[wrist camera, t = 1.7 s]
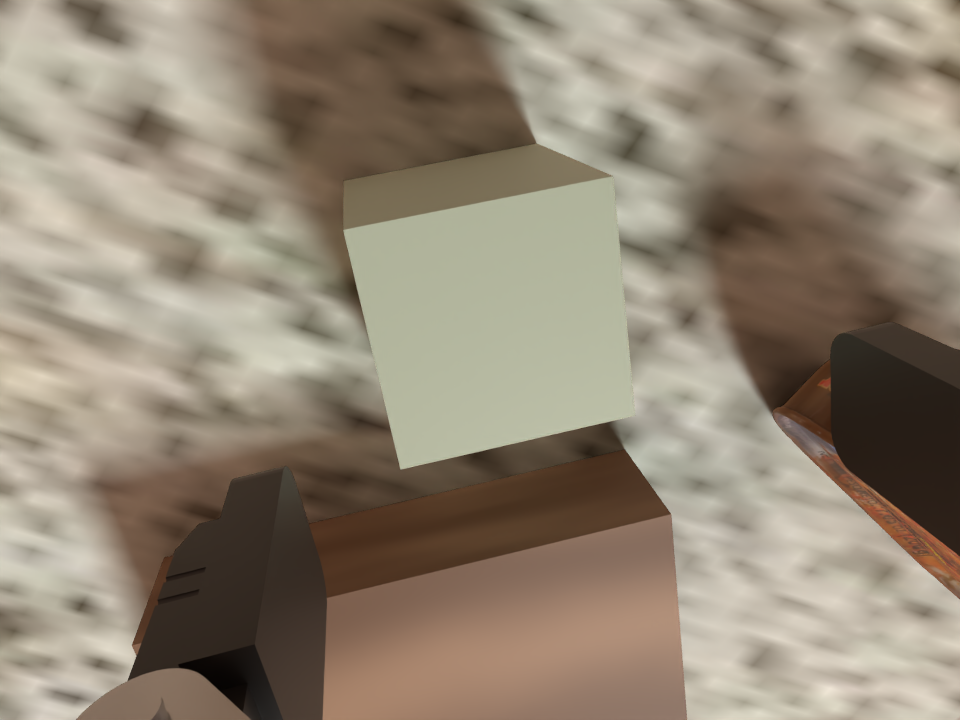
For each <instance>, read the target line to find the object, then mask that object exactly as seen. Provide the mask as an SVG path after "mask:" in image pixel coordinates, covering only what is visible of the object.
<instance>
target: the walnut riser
mask: <svg viewBox="0 0 960 720" xmlns="http://www.w3.org/2000/svg"><path fill="white" fill-rule="evenodd" d="M309 527H310V530H311V533H312V536H313V539H314V542H315V545H316V549H317V552H318V555H319V558H320V562H321V565H322V570H323V574H324V580H325V586H326V595H327V618H326V644H325V670H324V696H323V720H687V713H686V700H685V687H684V674H683V661H682V648H681V635H680V622H679V609H678V596H677V583H676V570H675V557H674V544H673V531H672V518H671V513H670V512H669V511H668V509H667V508H666V506H665V505H664V504H663V502H662V501H661V499H660V498H659V497H658V495H657V494H656V492H655V491H654V490H653V488H652V487H651V485H650V484H649V483H648V481H647V480H646V478H645V477H644V476H643V474H642V473H641V471H640V470H639V469H638V467H637V466H636V464H635V463H634V462H633V460H632V459H631V457H630V456H629V455H628V453H627V452H626V450H621V451H617V452H612V453H608V454H604V455H600V456H595V457H591V458H587V459H583V460H578V461H574V462H570V463H566V464H561V465H557V466H553V467H548V468H544V469H540V470H536V471H531V472H527V473H523V474H519V475H514V476H510V477H506V478H502V479H497V480H493V481H489V482H485V483H480V484H476V485H472V486H468V487H463V488H459V489H455V490H450V491H446V492H442V493H438V494H433V495H429V496H425V497H421V498H416V499H412V500H408V501H404V502H399V503H395V504H391V505H387V506H382V507H378V508H374V509H370V510H365V511H361V512H357V513H352V514H348V515H344V516H340V517H335V518H331V519H327V520H323V521H318V522H314V523H310V524H309ZM172 558H173V556H169V557H165V558H164V560H163V562H162V565H161V568H160V570H159V573H158V576H157V579H156V581H155V584H154V587H153V589H152V592H151V595H150V598H149V600H148V603H147V606H146V609H145V611H144V614H143V617H142V619H141V622H140V625H139V628H138V630H137V633H136V636H135V638H134V641H133V644H132V647H133V649H134V651H135V653H136V656H137V654H138V651H139V648H140V646H141V643H142V640H143V637H144V635H145V632H146V629H147V626H148V624H149V621H150V618H151V616H152V613H153V610H154V607H155V606H156V605H158V601H157V599H158V596H159V594H160V591H161V588H162V586H163V583H164V582H166V575H167V572H168V569H169V566H170V564H171V561H172Z"/></svg>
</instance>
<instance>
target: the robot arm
mask: <svg viewBox="0 0 960 720" xmlns="http://www.w3.org/2000/svg"><path fill="white" fill-rule="evenodd" d="M830 369H831V435H832V440H833V444H834V447H835V450H836V452H837V454H838V456H839V458H840V460H841V461H842V463H843V464H844V465H845V467H846V468H847V469H848V470H849V471H850V472H852V473H853V474H854V475H855V476H857V477H858V478H859V479H861V480H862V481H863V482H864V483H866V484H867V485H868V486H870V487H871V488H872V489H873V490H875V491H876V492H877V493H879V494H880V495H881V496H882V497H884V498H885V499H886V500H888V501H889V502H890V503H891V504H893V505H894V506H895V507H897V508H898V509H899V510H900V511H902V512H903V513H904V514H906V515H907V516H908V517H909V518H911V519H912V520H913V521H915V522H916V523H917V524H919V525H920V526H921V527H922V528H924V529H925V530H926V531H928V532H929V533H930V534H931V535H933V536H934V537H935V538H937V539H938V540H939V541H940V542H942V543H943V544H944V545H946V546H947V547H948V548H949V549H951V550H952V551H953V552H955V553H956V554H957V555H958V556H960V350H957V349H954V348H951V347H949V346H947V345H944V344H942V343H940V342H938V341H935V340H933V339H931V338H929V337H926V336H924V335H922V334H920V333H917V332H915V331H913V330H910V329H908V328H906V327H904V326H901V325H899V324H897V323H893V322H888V323H883V324H879V325H875V326H871V327H867V328H863V329H858V330H854V331H850V332H846V333H842V334H839V335H838V336H837V337H836V338H835V339H834V341H833V343H832V346H831V354H830ZM157 601H158V605H156V606H155V607H154V610H153V613H152V616H151V618H150V621H149V624H148V626H147V629H146V632H145V635H144V637H143V640H142V643H141V646H140V648H139V651H138V654H137V657H136V659H135V662H134V665H133V667H132V670H131V673H130V676H129V678H128V681H127V682H125V683H123V684H121V685H119V686H117V687H116V688H114V689H112V690H111V691H109V692H108V693H106V694H105V695H103V696H102V697H101V698H99V699H98V700H97V701H95V702H94V703H93V704H92V705H90V706H89V707H88V708H87V709H86V710H85V711H84V712H83V713H82V714H81V715H80V716H79V717H78V718H77V719H76V720H323V696H324V670H325V644H326V618H327V595H326V586H325V580H324V574H323V570H322V565H321V562H320V558H319V555H318V552H317V549H316V545H315V542H314V539H313V536H312V533H311V530H310V527H309V523H308V520H307V517H306V514H305V511H304V508H303V505H302V501H301V498H300V495H299V492H298V489H297V486H296V483H295V480H294V477H293V475H292V473H291V471H290V469H289V468H288V467H287V466H285V467H281V468H277V469H272V470H268V471H264V472H260V473H256V474H252V475H248V476H243V477H239V478H235V479H233V480H232V481H231V483H230V486H229V490H228V493H227V497H226V500H225V503H224V507H223V510H222V514H221V517H220V519H217V520H213V521H209V522H205V523H201V524H199V525H198V526H197V527H196V528H195V529H194V530H193V531H192V533H191V534H190V535H189V536H188V537H187V538H186V539H185V540H184V541H183V542H182V544H181V545H180V546H179V547H178V548H177V549H176V550H175V553H174V555H173V558H172V561H171V564H170V566H169V569H168V572H167V575H166V582H164V583H163V586H162V588H161V591H160V594H159V596H158V599H157Z"/></svg>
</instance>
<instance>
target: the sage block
mask: <svg viewBox="0 0 960 720" xmlns="http://www.w3.org/2000/svg"><path fill="white" fill-rule="evenodd" d="M343 232H344V236H345V240H346V244H347V249H348V253H349V257H350V261H351V265H352V269H353V274H354V278H355V282H356V286H357V290H358V294H359V299H360V303H361V307H362V311H363V315H364V320H365V324H366V328H367V332H368V336H369V340H370V345H371V349H372V353H373V357H374V361H375V365H376V370H377V374H378V378H379V382H380V386H381V390H382V395H383V399H384V403H385V407H386V411H387V416H388V420H389V424H390V428H391V432H392V436H393V441H394V445H395V449H396V453H397V457H398V461H399V466H400V470H401V469H406V468H410V467H414V466H419V465H423V464H427V463H432V462H436V461H440V460H445V459H449V458H453V457H458V456H462V455H466V454H471V453H475V452H479V451H484V450H488V449H492V448H497V447H501V446H505V445H510V444H514V443H519V442H523V441H527V440H532V439H536V438H540V437H545V436H549V435H553V434H558V433H562V432H566V431H571V430H575V429H579V428H584V427H588V426H592V425H597V424H601V423H605V422H610V421H614V420H618V419H623V418H627V417H631V416H635V408H634V397H633V386H632V375H631V364H630V354H629V343H628V332H627V321H626V310H625V299H624V289H623V278H622V267H621V256H620V245H619V235H618V224H617V213H616V202H615V191H614V181H613V176H612V175H609V174H607V173H605V172H602V171H600V170H597V169H595V168H593V167H590V166H588V165H586V164H583V163H581V162H579V161H576V160H574V159H572V158H569V157H567V156H565V155H562V154H560V153H558V152H555V151H553V150H551V149H548V148H546V147H544V146H541V145H539V144H532V145H527V146H521V147H516V148H511V149H506V150H501V151H496V152H490V153H485V154H480V155H475V156H470V157H464V158H459V159H454V160H449V161H444V162H439V163H433V164H428V165H423V166H418V167H413V168H408V169H402V170H397V171H392V172H387V173H382V174H376V175H371V176H366V177H361V178H356V179H351V180H345V181H344V189H343Z"/></svg>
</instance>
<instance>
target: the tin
mask: <svg viewBox="0 0 960 720" xmlns="http://www.w3.org/2000/svg"><path fill="white" fill-rule="evenodd" d="M773 418H774V420H775V422H776V423H777V424H778V426H779V427H780V428H781V429H782V431H783V432H784V433H785V434H786V435H787V436H788V437H789V438H790V439H792V441H793V442H794V443H795V444H796V445H797V446H798V447H799V448H800V449H801V450H802V451H803V452H804V453H805V454H806V455H807V456H808V457H809V458H810V459H811V460H812V461H813V462H814V463H815V464H816V465H817V466H819V468H820V469H821V470H822V471H824V472H825V473H826V474H827V476H829V477H830V478H831V479H832V480H833V481H834V482H835V483H836V484H837V485H838V486H839V487H840V488H841V489H842V490H843V491H844V492H845V493H846V494H848V495H849V496H850V497H851V498H852V499H853V500H854V501H855V502H856V503H857V504H858V505H859V506H860V507H861V508H862V509H863V510H864V511H865V512H866V513H867V514H868V515H869V516H870V517H871V518H872V519H873V520H874V521H875V522H877V523H878V524H879V525H880V526H881V527H882V528H883V529H884V530H885V531H886V532H887V533H888V534H889V535H890V536H891V537H892V538H893V539H894V540H895V541H896V542H897V543H898V544H899V545H900V546H901V547H902V548H903V549H904V550H906V551H907V552H908V553H909V554H910V555H911V556H912V557H913V558H914V559H915V560H916V561H917V562H918V563H919V564H920V565H921V566H922V567H923V568H925V569H926V570H927V571H928V572H929V573H930V574H931V575H933V576H934V577H935V578H936V579H937V580H938V581H939V582H941V583H942V584H943V585H944V586H945V587H946V588H947V589H948V590H950V591H951V592H952V593H953V594H954V595H955V596H957V597H958V598H959V599H960V556H958V555H957V554H956V553H955V552H953V551H952V550H951V549H949V548H948V547H947V546H946V545H944V544H943V543H942V542H940V541H939V540H938V539H937V538H935V537H934V536H933V535H931V534H930V533H929V532H928V531H926V530H925V529H924V528H922V527H921V526H920V525H919V524H917V523H916V522H915V521H913V520H912V519H911V518H909V517H908V516H907V515H906V514H904V513H903V512H902V511H900V510H899V509H898V508H897V507H895V506H894V505H893V504H891V503H890V502H889V501H888V500H886V499H885V498H884V497H882V496H881V495H880V494H879V493H877V492H876V491H875V490H873V489H872V488H871V487H870V486H868V485H867V484H866V483H864V482H863V481H862V480H861V479H859V478H858V477H857V476H855V475H854V474H853V473H852V472H850V471H849V470H848V469H847V468H846V467H845V465H844V464H843V463H842V461H841V460H840V458H839V456H838V454H837V452H836V450H835V447H834V444H833V440H832V435H831V369H830V360H828V361H827V362H826V363H825V364H824V365H823V366H822V367H820V368H819V369H818V370H817V371H816V372H815V373H814V374H813V375H812V376H811V377H810V378H809V379H808V380H807V381H806V382H805V383H804V384H803V386H802V387H801V388H800V389H799V390H798V391H797V392H796V393H795V394H794V395H793V396H792V397H791V398H790V399H789V400H788V401H787V402H786V403H785V404H784V405H783V406H782V407H778V408H776V409H774V410H773Z"/></svg>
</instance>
